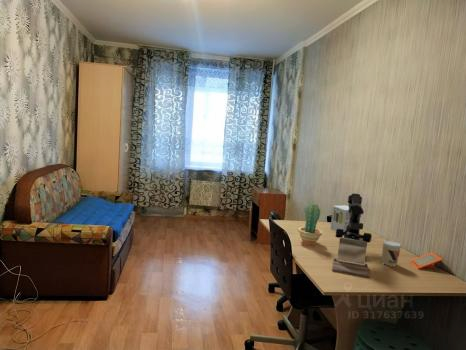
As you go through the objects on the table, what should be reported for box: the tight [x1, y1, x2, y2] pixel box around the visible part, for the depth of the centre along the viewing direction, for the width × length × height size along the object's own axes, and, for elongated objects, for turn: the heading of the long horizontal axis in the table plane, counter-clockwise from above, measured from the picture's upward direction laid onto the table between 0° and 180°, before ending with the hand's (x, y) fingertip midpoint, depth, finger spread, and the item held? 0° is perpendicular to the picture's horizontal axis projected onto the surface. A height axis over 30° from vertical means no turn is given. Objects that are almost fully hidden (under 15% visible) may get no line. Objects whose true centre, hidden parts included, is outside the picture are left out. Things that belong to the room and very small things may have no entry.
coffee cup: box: [381, 240, 402, 267], centre depth 205 cm, size 9×9×12 cm
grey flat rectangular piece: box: [336, 236, 368, 265], centre depth 197 cm, size 12×14×2 cm
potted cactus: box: [297, 202, 323, 246], centre depth 231 cm, size 15×15×25 cm
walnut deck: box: [331, 257, 370, 279], centre depth 192 cm, size 14×18×2 cm
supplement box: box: [330, 204, 350, 232], centre depth 266 cm, size 13×13×18 cm
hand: (352, 248), depth 199 cm, fingers closed
